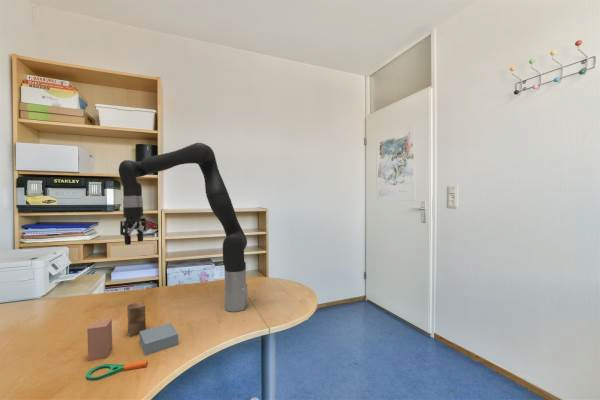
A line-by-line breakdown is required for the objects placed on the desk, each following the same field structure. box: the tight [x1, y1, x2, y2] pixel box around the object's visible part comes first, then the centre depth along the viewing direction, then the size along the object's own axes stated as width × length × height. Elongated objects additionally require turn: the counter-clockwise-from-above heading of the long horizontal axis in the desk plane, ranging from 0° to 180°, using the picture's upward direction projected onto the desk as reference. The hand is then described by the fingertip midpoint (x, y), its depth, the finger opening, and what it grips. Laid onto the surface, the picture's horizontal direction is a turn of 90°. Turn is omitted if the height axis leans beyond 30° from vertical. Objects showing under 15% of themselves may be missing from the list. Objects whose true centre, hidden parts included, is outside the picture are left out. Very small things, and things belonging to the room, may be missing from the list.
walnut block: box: [127, 301, 147, 338], centre depth 102 cm, size 5×5×10 cm
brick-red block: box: [86, 318, 113, 362], centre depth 88 cm, size 5×5×10 cm
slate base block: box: [139, 322, 179, 356], centre depth 95 cm, size 10×10×4 cm
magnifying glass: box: [85, 360, 148, 382], centre depth 81 cm, size 15×6×2 cm, turn 108°
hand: (134, 242), depth 123 cm, fingers open, 8 cm apart
